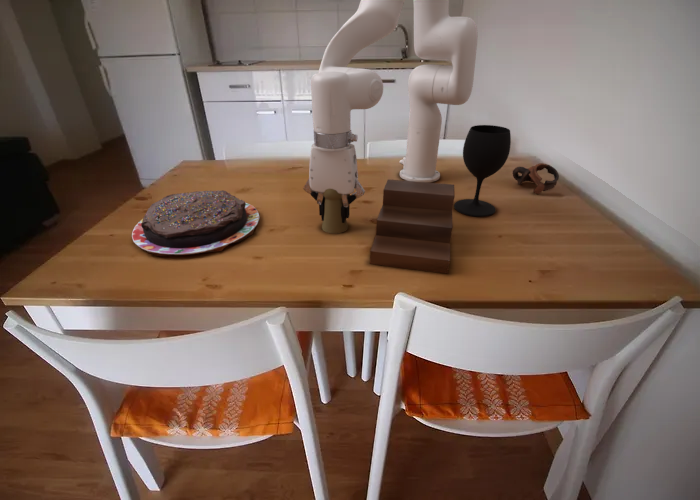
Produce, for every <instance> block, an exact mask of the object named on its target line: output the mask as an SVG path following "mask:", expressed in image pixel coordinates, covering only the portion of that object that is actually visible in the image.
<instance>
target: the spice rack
mask: <svg viewBox="0 0 700 500" xmlns="http://www.w3.org/2000/svg"><path fill="white" fill-rule="evenodd" d="M382 194H383V195H382V206H381V207H380V211H379V213H378V215H377V218H376V225H375V226H376V227H375V228H376V229H375V230H376V231H375V237H374V240H373V243H372V245H371V247H370V250H369V264H370V265H376V266H384V267H392V268H400V269H406V270H407V269H408V270H415V271H423V272H431V273H439V274H449V269H450V263H451V240H452V235H453V233H452V232H453V208H454V204H455V195H456V193H455V184H452V183H440V182H439V183H438V182H429V183H428V182H415V181H407V180H401V179H390V178H388V179H387V180H386V183H385V185H384V187H383V193H382Z"/></svg>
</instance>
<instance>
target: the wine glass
mask: <svg viewBox="0 0 700 500" xmlns="http://www.w3.org/2000/svg"><path fill="white" fill-rule="evenodd" d="M511 138H512V136H511V129H510V128H508V127H504V126H499V125H494V124H493V125H492V124H478V125H473V126H471V127H470V128H469V130H468V132H467V135H466V137H465V139H464V143H463V147H462V158H463V163H464V165H465V167H466V169H467V170H468V171H469V173H470V174H471V175H472V176H474V178H475V179H476V187H475V193H474V197H473V198H466V199H459V200H457V201H456V202H454V203H453V208H454V209H455V211H457V212H458V213H460V214H462V215H464V216H468V217H475V218H486V217H487V218H488V217H490V216H493V215H494V214H496V207H495V206H494V205H493V204H492V203H490V202H487V201H485V200H480V193H481V188H482V184H483V182H484V181H485V180H486V179H487V178H489V177H491V176H493V175H494V174H496V173H497V172H499V171H500V170H501V169H502V168H503V167H504V165H505V164H506V162H507V160H508V158H509V156H510V151H511V144H512V139H511Z"/></svg>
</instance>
